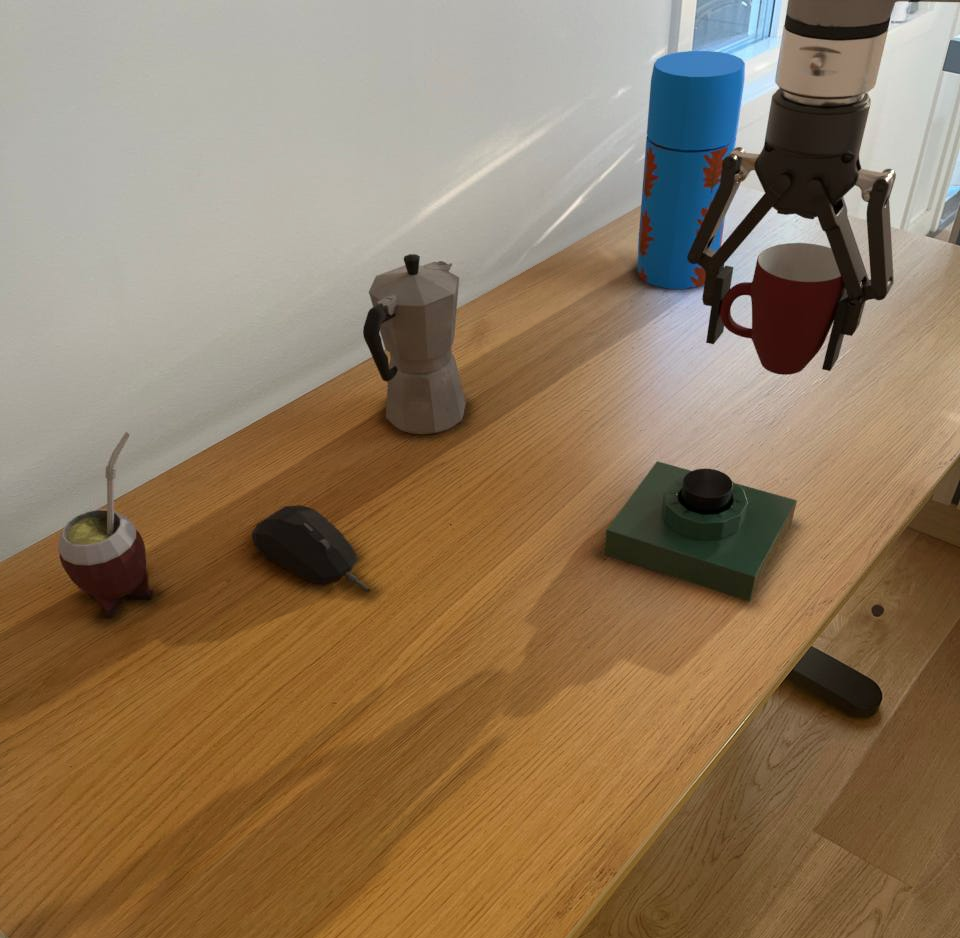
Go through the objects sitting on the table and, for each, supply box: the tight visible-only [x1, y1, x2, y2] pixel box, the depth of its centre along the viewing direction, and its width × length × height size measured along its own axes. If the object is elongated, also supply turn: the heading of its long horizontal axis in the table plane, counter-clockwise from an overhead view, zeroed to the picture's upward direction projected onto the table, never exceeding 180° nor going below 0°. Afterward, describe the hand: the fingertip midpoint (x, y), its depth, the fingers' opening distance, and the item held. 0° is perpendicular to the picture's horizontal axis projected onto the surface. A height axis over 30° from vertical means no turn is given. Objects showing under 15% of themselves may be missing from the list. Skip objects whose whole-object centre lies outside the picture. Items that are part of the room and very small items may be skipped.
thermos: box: [637, 50, 746, 290], centre depth 119 cm, size 11×11×25 cm
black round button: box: [680, 468, 734, 515], centre depth 85 cm, size 4×4×2 cm
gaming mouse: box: [251, 504, 371, 593], centre depth 88 cm, size 6×15×4 cm, turn 48°
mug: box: [720, 242, 846, 376], centre depth 87 cm, size 11×8×10 cm
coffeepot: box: [362, 253, 467, 435], centre depth 99 cm, size 15×9×18 cm, turn 150°
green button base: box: [604, 460, 798, 602], centre depth 87 cm, size 14×12×5 cm
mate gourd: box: [57, 431, 155, 619], centre depth 82 cm, size 8×8×15 cm
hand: (771, 350), depth 90 cm, fingers closed on mug, 10 cm apart
